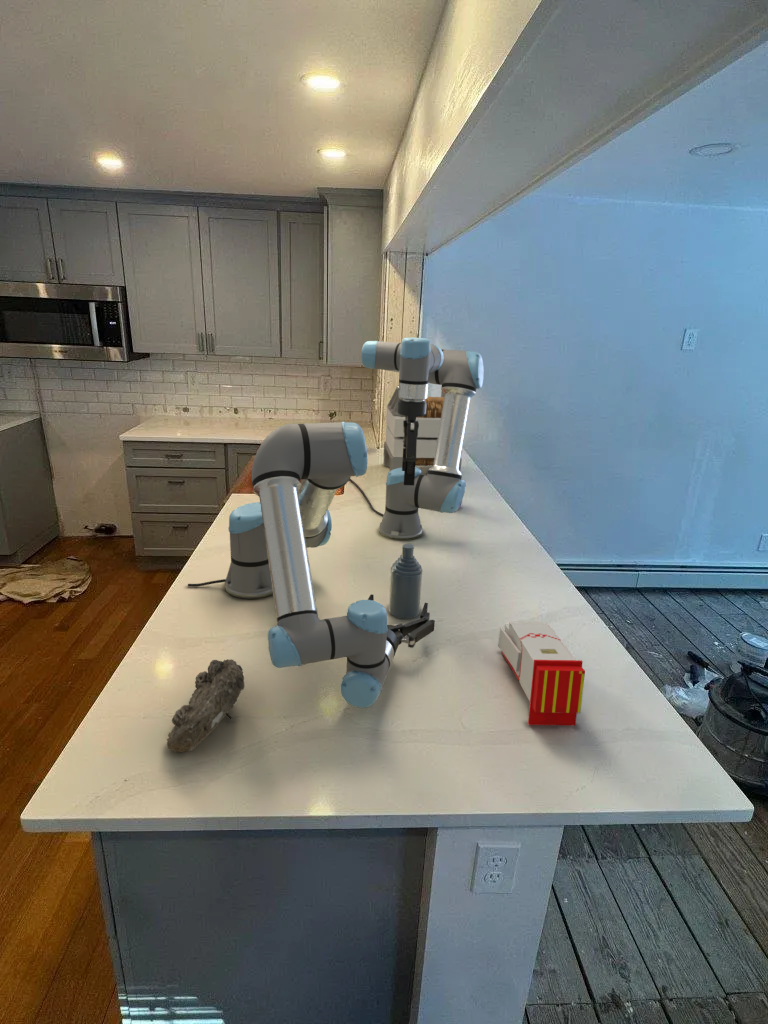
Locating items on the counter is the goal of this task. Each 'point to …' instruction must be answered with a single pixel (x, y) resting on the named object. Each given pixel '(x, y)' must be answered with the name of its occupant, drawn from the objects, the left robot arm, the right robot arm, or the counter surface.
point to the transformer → (425, 433)
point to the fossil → (206, 705)
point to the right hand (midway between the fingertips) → (407, 477)
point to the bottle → (405, 585)
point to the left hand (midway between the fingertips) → (398, 603)
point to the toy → (544, 672)
